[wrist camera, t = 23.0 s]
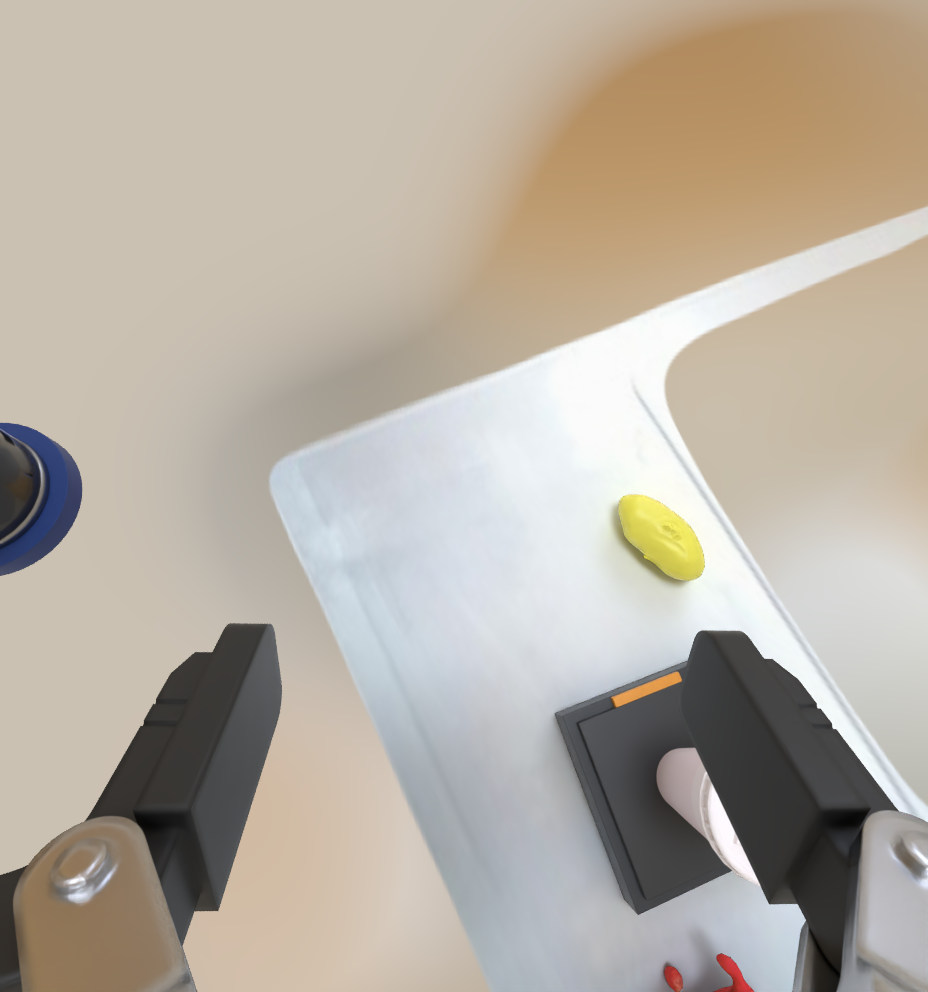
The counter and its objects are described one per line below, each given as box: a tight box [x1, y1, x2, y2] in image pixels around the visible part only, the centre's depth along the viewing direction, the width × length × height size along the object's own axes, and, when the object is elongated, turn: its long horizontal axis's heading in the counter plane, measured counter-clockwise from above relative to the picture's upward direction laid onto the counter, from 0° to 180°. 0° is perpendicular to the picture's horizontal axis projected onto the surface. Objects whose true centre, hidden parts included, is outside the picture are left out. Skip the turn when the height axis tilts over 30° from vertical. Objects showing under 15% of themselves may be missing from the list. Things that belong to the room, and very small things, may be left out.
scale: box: [555, 661, 732, 915], centre depth 37 cm, size 12×12×3 cm
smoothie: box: [656, 748, 760, 886], centre depth 29 cm, size 6×6×14 cm
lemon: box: [618, 495, 705, 581], centre depth 42 cm, size 4×8×4 cm, turn 38°
